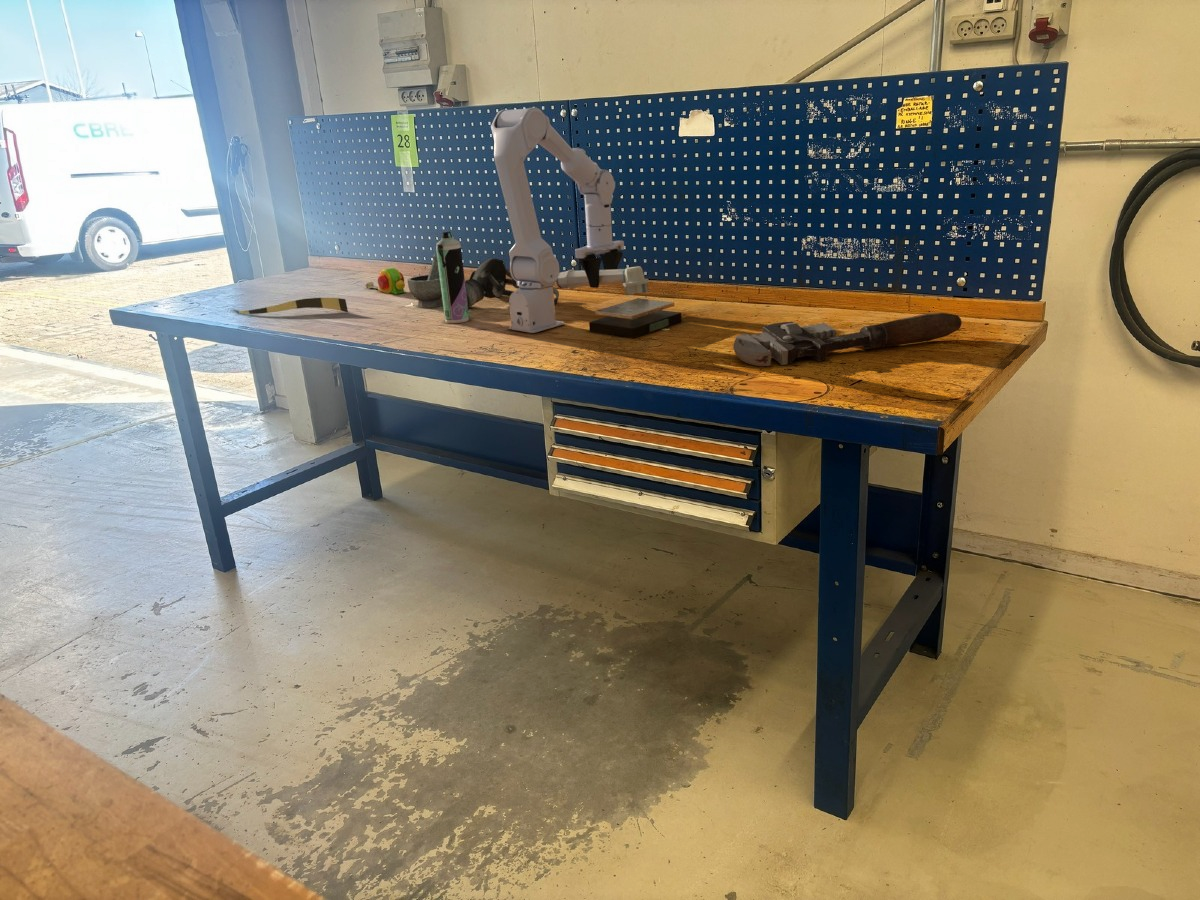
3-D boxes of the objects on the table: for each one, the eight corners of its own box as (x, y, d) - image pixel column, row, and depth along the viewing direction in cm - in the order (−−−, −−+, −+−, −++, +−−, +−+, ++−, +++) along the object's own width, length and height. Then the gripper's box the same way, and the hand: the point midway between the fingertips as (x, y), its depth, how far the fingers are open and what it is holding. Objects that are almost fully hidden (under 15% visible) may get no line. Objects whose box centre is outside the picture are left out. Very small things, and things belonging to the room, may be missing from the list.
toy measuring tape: (393, 296, 229) (389, 271, 227) (359, 289, 243) (355, 266, 240) (414, 292, 233) (410, 268, 230) (379, 285, 246) (375, 262, 244)
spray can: (464, 323, 193) (453, 232, 185) (441, 323, 194) (430, 233, 186) (472, 317, 198) (462, 229, 190) (450, 318, 199) (439, 230, 191)
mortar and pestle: (431, 310, 208) (424, 260, 204) (403, 308, 213) (396, 259, 209) (461, 301, 217) (455, 253, 213) (433, 299, 222) (427, 252, 218)
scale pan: (632, 323, 171) (631, 315, 170) (595, 318, 177) (595, 310, 176) (674, 309, 180) (674, 302, 180) (638, 305, 186) (638, 298, 186)
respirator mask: (481, 282, 224) (509, 236, 216) (543, 335, 223) (573, 291, 215) (442, 297, 206) (470, 249, 199) (508, 355, 205) (540, 308, 198)
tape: (336, 318, 208) (332, 303, 206) (214, 315, 221) (211, 300, 219) (350, 312, 213) (347, 297, 211) (231, 309, 226) (227, 295, 224)
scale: (635, 338, 170) (634, 328, 169) (589, 331, 178) (588, 322, 177) (683, 322, 181) (682, 312, 180) (638, 316, 189) (637, 307, 188)
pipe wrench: (752, 379, 145) (753, 351, 142) (721, 352, 156) (721, 326, 153) (967, 340, 154) (972, 314, 152) (924, 318, 165) (927, 293, 163)
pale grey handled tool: (566, 269, 206) (650, 259, 190) (571, 296, 207) (654, 289, 192) (552, 273, 202) (636, 263, 186) (557, 301, 204) (641, 294, 188)
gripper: (590, 229, 185) (593, 292, 190) (633, 221, 195) (635, 281, 200) (566, 228, 189) (571, 289, 194) (609, 220, 199) (612, 279, 204)
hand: (602, 285), depth 197 cm, fingers closed on pale grey handled tool, 5 cm apart
